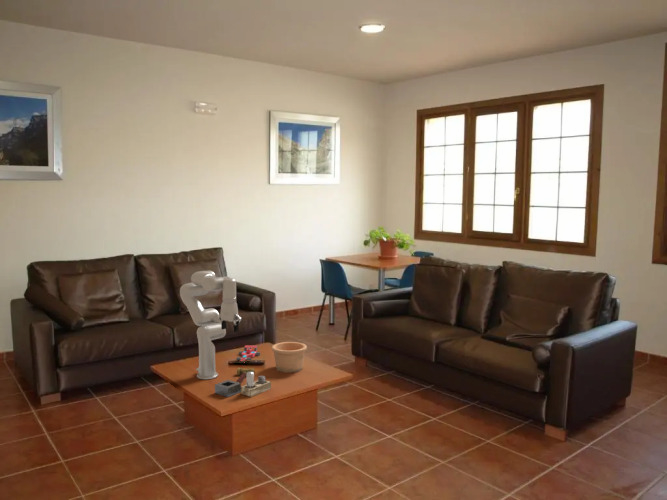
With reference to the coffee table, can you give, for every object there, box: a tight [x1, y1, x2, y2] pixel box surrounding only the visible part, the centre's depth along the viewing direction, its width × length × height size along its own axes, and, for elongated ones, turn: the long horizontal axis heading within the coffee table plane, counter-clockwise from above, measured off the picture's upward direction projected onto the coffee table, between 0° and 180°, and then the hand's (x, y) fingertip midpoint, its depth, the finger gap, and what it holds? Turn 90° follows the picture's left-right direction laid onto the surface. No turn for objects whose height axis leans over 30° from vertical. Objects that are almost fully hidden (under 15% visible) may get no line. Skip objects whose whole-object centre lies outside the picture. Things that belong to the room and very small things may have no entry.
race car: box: [235, 344, 261, 362], centre depth 382 cm, size 14×6×25 cm
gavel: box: [236, 367, 256, 384], centre depth 341 cm, size 21×5×10 cm
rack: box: [240, 375, 272, 398], centre depth 321 cm, size 8×16×7 cm, turn 144°
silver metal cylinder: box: [246, 371, 255, 389], centre depth 317 cm, size 4×4×12 cm
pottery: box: [271, 341, 308, 374], centre depth 361 cm, size 22×22×14 cm
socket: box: [214, 379, 242, 398], centre depth 319 cm, size 10×10×5 cm
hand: (230, 330), depth 324 cm, fingers open, 9 cm apart
